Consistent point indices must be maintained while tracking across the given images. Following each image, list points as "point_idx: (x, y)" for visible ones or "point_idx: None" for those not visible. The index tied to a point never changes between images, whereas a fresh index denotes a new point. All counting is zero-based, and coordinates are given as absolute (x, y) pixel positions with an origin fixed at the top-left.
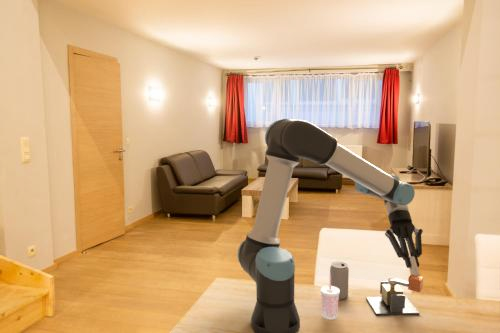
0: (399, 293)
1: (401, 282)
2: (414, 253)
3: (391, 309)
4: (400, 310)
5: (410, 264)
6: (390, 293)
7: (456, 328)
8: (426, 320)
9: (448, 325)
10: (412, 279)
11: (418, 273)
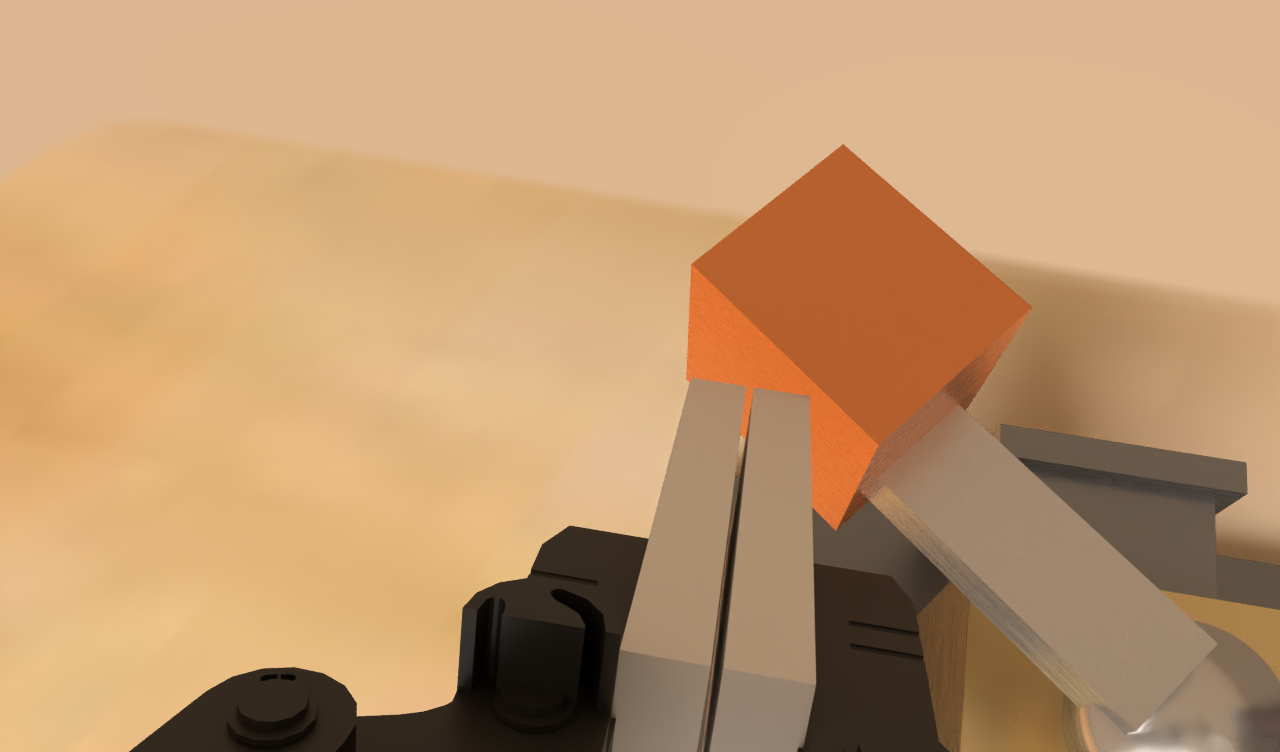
0: None
1: (1073, 511)
2: (546, 745)
3: None
4: None
5: (819, 597)
6: (1209, 593)
7: (488, 175)
8: None
9: (530, 235)
10: (957, 264)
11: (707, 397)
